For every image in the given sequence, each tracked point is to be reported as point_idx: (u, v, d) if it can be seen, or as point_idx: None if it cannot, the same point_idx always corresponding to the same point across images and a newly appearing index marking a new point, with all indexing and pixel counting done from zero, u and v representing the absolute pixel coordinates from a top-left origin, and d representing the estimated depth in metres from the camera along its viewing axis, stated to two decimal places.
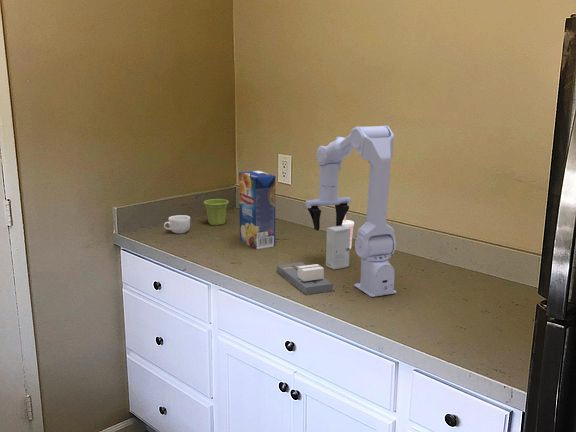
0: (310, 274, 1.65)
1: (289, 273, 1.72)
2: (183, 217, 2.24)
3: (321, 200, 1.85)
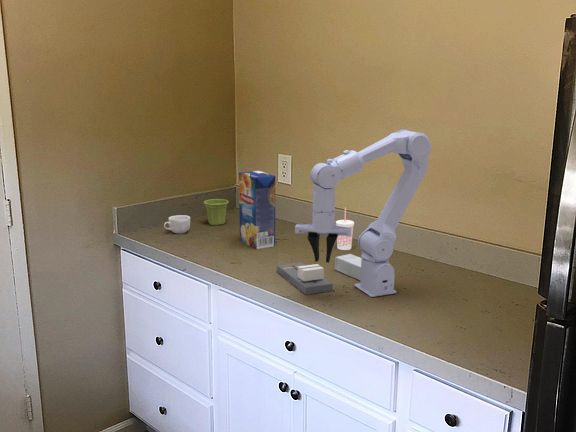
0: (310, 274, 1.65)
1: (289, 273, 1.72)
2: (183, 217, 2.24)
3: (312, 226, 1.57)
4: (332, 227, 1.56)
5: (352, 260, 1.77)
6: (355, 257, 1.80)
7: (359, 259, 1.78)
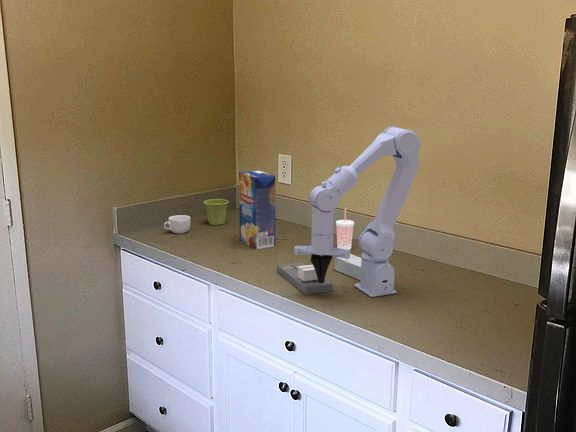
0: (310, 274, 1.65)
1: (289, 273, 1.72)
2: (183, 217, 2.24)
3: (311, 248, 1.59)
4: (331, 249, 1.58)
5: (352, 260, 1.77)
6: (355, 257, 1.80)
7: (359, 259, 1.78)
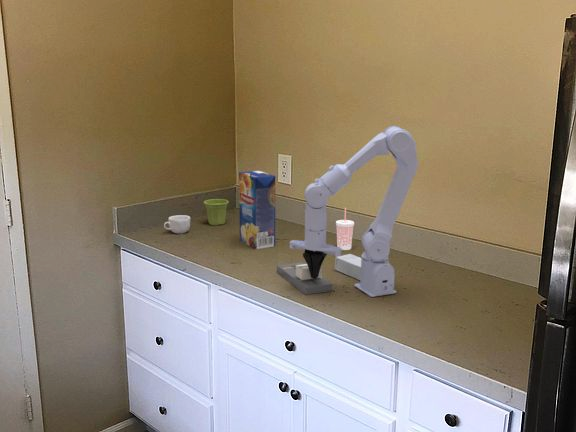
0: (308, 273, 1.66)
1: (289, 273, 1.72)
2: (183, 217, 2.24)
3: (304, 243, 1.64)
4: (322, 245, 1.61)
5: (352, 260, 1.77)
6: (355, 257, 1.80)
7: (359, 259, 1.78)
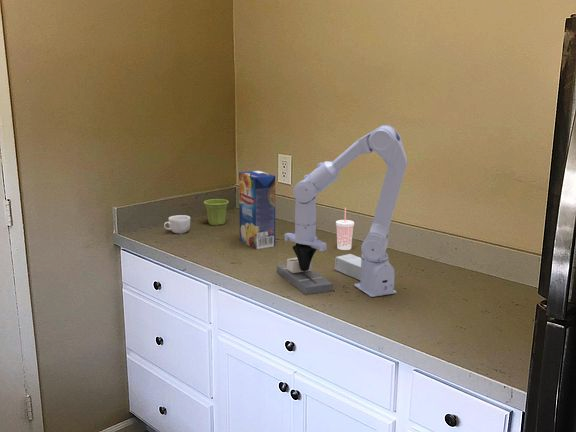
0: (298, 266, 1.72)
1: (289, 273, 1.72)
2: (183, 217, 2.24)
3: None
4: (308, 240, 1.66)
5: (352, 260, 1.77)
6: (355, 257, 1.80)
7: (359, 259, 1.78)
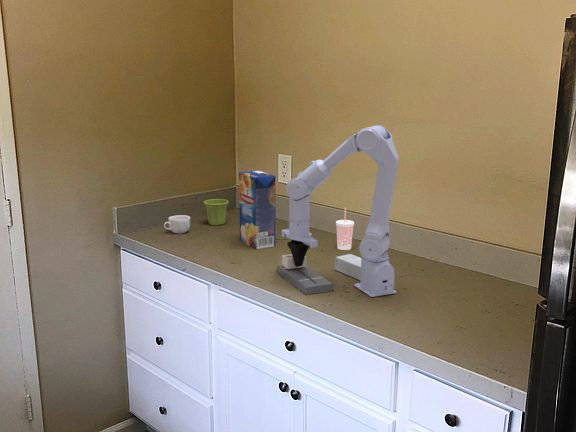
0: (293, 262, 1.75)
1: (289, 273, 1.72)
2: (183, 217, 2.24)
3: None
4: (301, 236, 1.70)
5: (352, 260, 1.77)
6: (355, 257, 1.80)
7: (359, 259, 1.78)
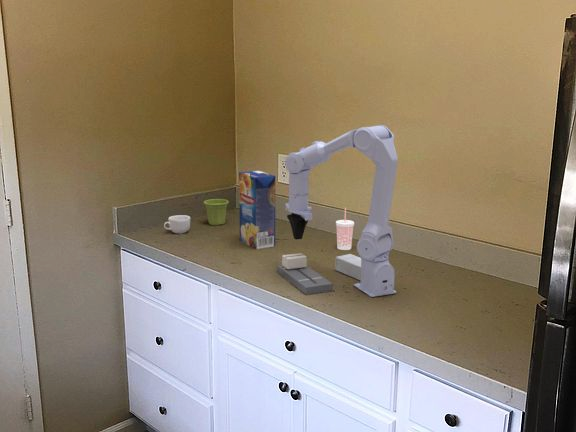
0: (293, 262, 1.75)
1: (289, 273, 1.72)
2: (183, 217, 2.24)
3: None
4: (298, 209, 1.75)
5: (352, 260, 1.77)
6: (355, 257, 1.80)
7: (359, 259, 1.78)
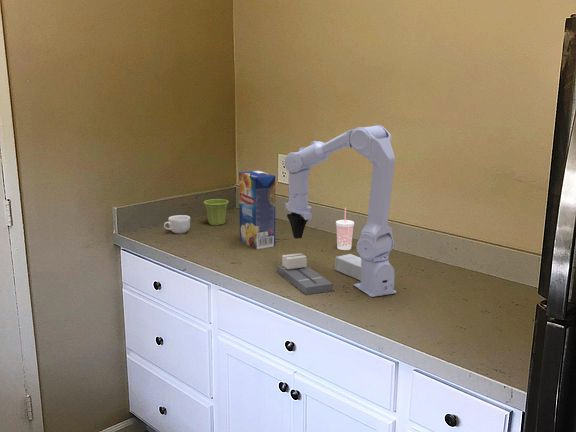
0: (293, 262, 1.75)
1: (289, 273, 1.72)
2: (183, 217, 2.24)
3: None
4: (298, 208, 1.76)
5: (352, 260, 1.77)
6: (355, 257, 1.80)
7: (359, 259, 1.78)
